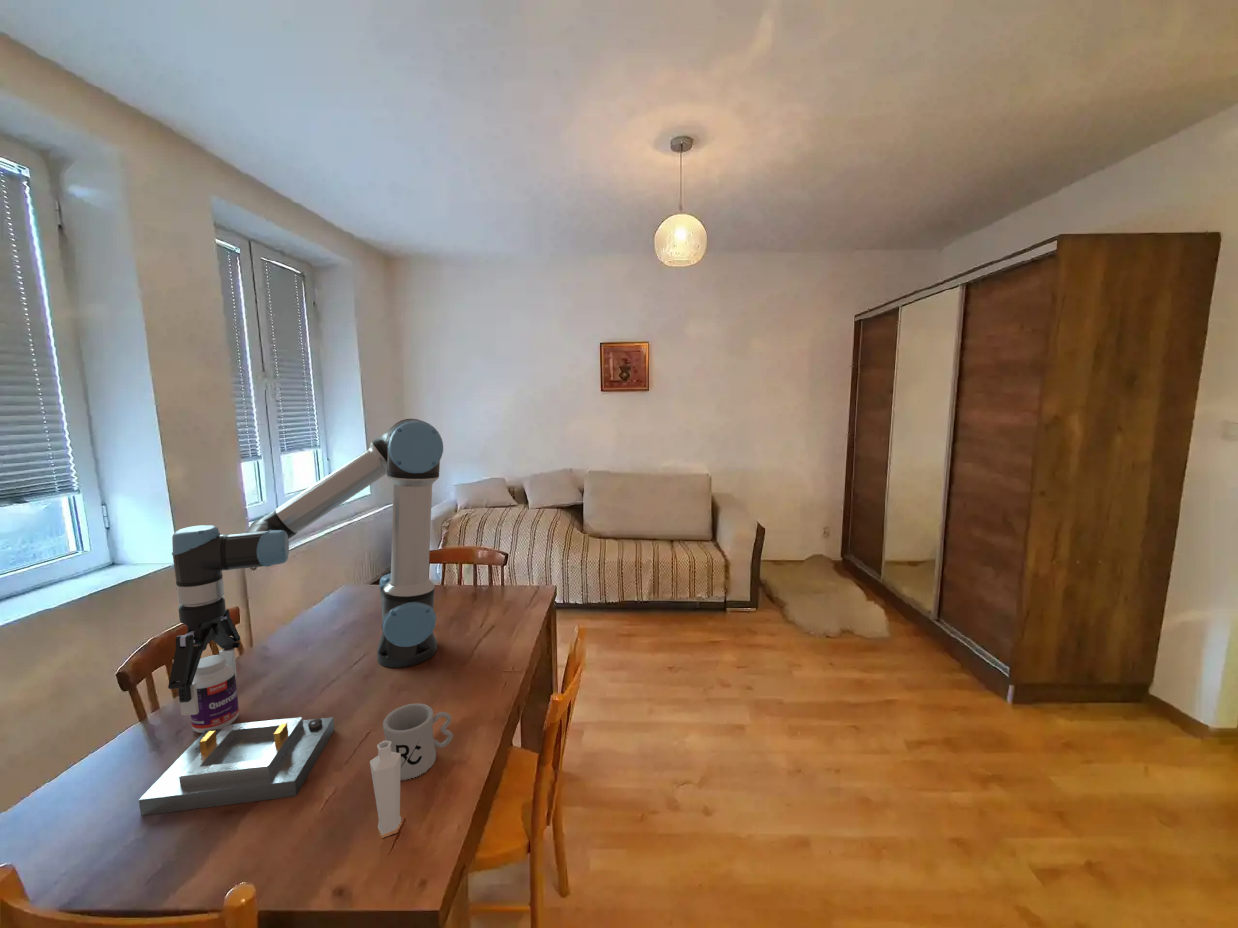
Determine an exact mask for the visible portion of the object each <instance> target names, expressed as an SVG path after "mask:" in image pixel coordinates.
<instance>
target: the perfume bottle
mask: <svg viewBox="0 0 1238 928" xmlns="http://www.w3.org/2000/svg"><path fill="white" fill-rule="evenodd" d="M391 743H392V742H391V741H386V739H385V740H382V741H381V742H379V743H378V744H377V745H376V747H377V755H376V756H374V758H373V759H371V760H370V761H369V766H370V772H371V778H372V784H373V785H372V786H373V791H374V797H375V805H376V810H377V817H378V823H377V824H378V825H377V827H378V829H379V831H380V833H381V835H384V834H386V833H389V832H391V831H394V830H396V829H397V828H398V826H399V824H400V822H401V819H402V817H401V780H400V769H401V753H396V752H391ZM402 820H403V819H402Z"/></svg>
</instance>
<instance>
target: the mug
mask: <svg viewBox="0 0 1238 928" xmlns="http://www.w3.org/2000/svg"><path fill="white" fill-rule="evenodd" d="M440 718H445V719H446V720H445V722H444V723H443V724H442V725H441V727H440V732H441V734H443V735H444V736H447V738H446V739H445V740H444V741H442V742H439V741H438V740H437V739H434V731H433V725H434V724H435V723H436V722H437V721H438V720H439V719H440ZM451 722H452V716H451V714H450V713H448V712H446V711H439V712H438V713H436V714H434V710H433V708H432V707H431V706H430V705H428V704H424V703H409V704H405V705H402V706H399V707H397V708H395V709H394V710H391V712H389V713H388V714H386V716H385V717H384V720H383V722H382V729H383V733H384V737H385V740H386V741H391V742H392V743H391V752H396V753H401V769H400V781H408V780H407V779H409V780H412V779H411V778H413V779H415V777H416V778H418V777H420V776H422V775H423V773H424V774H425V773H426V772H428V771H429V770H430V769H431V768H432V767H433V765H434V764H435V762H436V759H437V749H436V748H439V749H441V748H442V749H443V748H445V747H446V746H448V745H449V743H450V742H451V741H452V739H453V737H454V735H453V732H452V731H450V730H448V729H447V728H448V727H449V725H450V724H451ZM429 768H430V769H429ZM428 769H429V770H428ZM427 770H428V771H427ZM421 774H422V775H421ZM419 775H420V776H419ZM417 776H418V777H417Z"/></svg>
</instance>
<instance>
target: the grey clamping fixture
mask: <svg viewBox="0 0 1238 928" xmlns="http://www.w3.org/2000/svg"><path fill="white" fill-rule="evenodd" d="M334 731H335V723H334V717H333V716H332V717H321V718H311V719H304V718H303V717H301V716H299V717H291V718H290V717H289V718H280V719H270V720H260V721H249V722H241V723H231V724H229V725H225V727H224V728H222V729H214V730H205V731H204V732H203V733H201V734H200V735H199V736H198V738H196V740H195V741H193V743H192V744H191V745H190V746H188V748H187V749H186V750H185V751H184V752H183V753H182V754H181V755H180V756H179V757H178V758H177V759H176V760H175V761H174V762H173V763H172V765H171V766H170V767H169V768H167V770H166V771H165V772H164V773H163V774H162V775H161V776H160V777H158V779H157V780H156V781H155V782H154V783H152V785H151V787H149V788H148V789H147V791H146V792H145V793H144V794H143V795H142V796H140V798H139V799H138V803H139V804H138V805H139V809H140V810H139V811H140V816H149V815H151V816H152V815H156V814H157V815H158V814H165V813H166V814H167V813H172V812H173V813H174V812H181V811H189V810H190V811H191V810H195V809H196V810H197V808H198V809H206V808H213V807H221V806H228V805H236V804H245V803H252V802H259V801H268V800H275V799H277V800H278V799H282V798H283V799H284V798H293V797H297V796H298V793H299V792H300V790H301V788H302V787H303V785H304V783H305V782H306V779H308V777H309V775H310V773H311V771H312V770H313V768H314V766H315V764H316V763H317V761H318V759H319V757H320V756H321V754H322V752H323V751H324V749H325V747H326V745H327V743H328V742H329V740H330V738H331V737H332V735H333V733H334Z"/></svg>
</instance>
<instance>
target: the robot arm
mask: <svg viewBox="0 0 1238 928" xmlns="http://www.w3.org/2000/svg"><path fill="white" fill-rule="evenodd" d="M443 453H444V442H443V438H442V437H441V434H440V433H439V431H438V430H437V428H436V427H434V426H433V425H432V424H430V423H428V422H426V421H424V420H420V419H417V418H405V419H402V420H399V421H397V422H396V423H395V424H393V425H392V426H391V427H390V428H389V429H388V430H387V431H385V432H384V433H383V434H381V435H380V436H379V437H377V438H376V439H374V440H373V441H371V442H370V444H369V448H368V449H367V450H365V451H364V452H362V453H361V454H359V455H357V456H356V457H354V458H353V459H351V460H350V461H348V462H347V463H345V464H343V465H342V466H341V467H339V468H337V469H335V470H334V471H332V472H331V473H329V474H328V475H326V476H324V477H323V478H321V479H319V480H318V481H317V482H315V483H314V484H312V485H311V486H309V487H307V488H306V489H304V490H303V491H301V492H300V493H298V494H297V495H295V496H294V497H292V498H291V499H289V500H287V501H286V502H285V503H283V504H281V505H280V506H278V507H276V508H275V509H274V510H272V511H271V512H269V513H267V514H266V515H264V516H261V517H259V518H257V519H256V520H255V521H253V522H252V523H251V524H250V525H249V527H248V528H247V530H246V531H245V532H242V533H241V532H240V533H232V534H230V533H229V534H221V533H220V531H219V527H217V526H216V525H211V524H209V525H205V524H202V525H192V526H188V527H184V528H180V529H178V530H176V531H174V533H173V535H172V538H171V540H172V543H171V544H172V552H171V555H172V559H173V567H174V576H175V584H176V586H175V587H176V588H175V589H176V591H177V592H176V593H177V594H176V595H177V603H178V604H179V605H178V614H179V615H178V617H179V623H181V624H183V625H185V626H186V627H187V629H186V634H183V635H182V634H181V635H177V636H175V651H174V652H175V653H174V656H173V662H172V665H171V671H170V676H169V681H168V684H167V685H168V686H167V689H168V690H176V689H177V692H178V700H179V706H180V713H181V714H180V715H181V716H182V717H183V716H190V715H196V714H198V713H199V707H198V697H197V687H196V682H193V680H194V676H195V673H196V670H197V667H198V664H199V661H200V659H202V658H201V657H202V654H203V652H204V651H206V649H207V647H208V645H209V644H210V643H211V641H212V642H214V643H215V644H216V645H217V646H219V647H220V648H221V649H220V651H218V655H224V656H225V657H226V664H228V665H231V666H232V667H233V668H234V670H235V678H237V677H238V674H237V664H236V652H235V649H239V648H240V646H241V643H240V640H241V635H240V634H239V631H238V630H237V628H236V626H235V623H234V622H233V620H232V617H231V615H230V610H229V608H226V599H225V597H224V595H225V586H224V580H223V579H224V577H223V576H224V575H223V572H224V571H230V570H242V569H252V568H259V567H260V568H261V567H267V568H268V567H271V566H275V565H282V564H285V563H286V562H287V561H288V560H289V554H290V543H289V542H290V541H289V540H290V539H291V538H293V537H295V535H297V534H298V533H299V532H301V531H303V530H305V529H306V528H307V527H309V526H311V525H312V524H313V523H315V522H317V521H318V520H319V519H321V518H322V517H324V516H326V515H327V514H328V513H330V512H331V511H332V510H335V509H336V508H338V507H340V505H342V504H343V503H345V502H347V501H348V500H349V499H351V498H352V497H354V496H356V495H357V494H358V493H361V491H363V490H364V489H366V488H367V487H369V486H371V485H372V484H373V483H375V482H377V481H379V480H380V479H381V478H383V477H384V476H386V477H387V478H388V479H389V480H390V481H391V482H392V484H393V493H392V494H393V495H392V497H393V498H392V499H393V500H392V521H391V522H392V525H391V526H392V528H391V532H392V533H391V558H390V559H391V560H390V573H387V574H384V575H382V577H380V578H379V579H380V580H379V586H378V589H379V592H380V593H379V594H380V596H379V597H380V608H381V609H380V610H381V623H382V624H381V630H382V632H381V636H380V639H379V643H378V647H377V651H376V656H377V658H376V659H377V661H378V664H380V665H381V666H383V667H385V668H394V669H395V668H397V669H398V668H407V667H412V666H415V665H418V664H422V663H423V662H426V661H427V660H429V659H430V657H431V658H432V657H433V656H434V655H435V654H436V653H435V652H437V651H438V642H437V637H436V636H435V633H434V630H435V628H436V622H437V615H436V612H435V608H434V607H435V583H434V581H433V582H432V580H430V579H429V573H430V572H429V570H430V552H431V551H430V548H431V546H430V545H431V527H432V525H431V523H432V522H431V521H432V498H433V497H432V496H433V484H434V483H435V482H436V481H437V480H438V479H439V478H440V470H441V468H440V466H441V465H440V464H441V459H442V457H443ZM436 650H437V651H436ZM425 660H426V661H425Z"/></svg>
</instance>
